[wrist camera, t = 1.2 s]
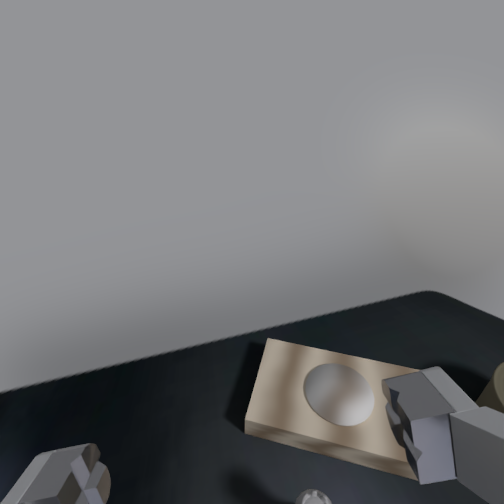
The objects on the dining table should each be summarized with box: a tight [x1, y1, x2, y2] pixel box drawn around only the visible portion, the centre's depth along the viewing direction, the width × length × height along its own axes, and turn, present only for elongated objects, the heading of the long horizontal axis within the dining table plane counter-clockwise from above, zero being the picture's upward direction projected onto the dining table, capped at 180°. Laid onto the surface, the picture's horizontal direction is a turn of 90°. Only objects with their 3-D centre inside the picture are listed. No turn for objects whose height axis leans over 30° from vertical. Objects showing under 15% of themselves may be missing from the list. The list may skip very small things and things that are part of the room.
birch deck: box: [245, 338, 430, 484], centre depth 40 cm, size 20×12×3 cm, turn 76°
